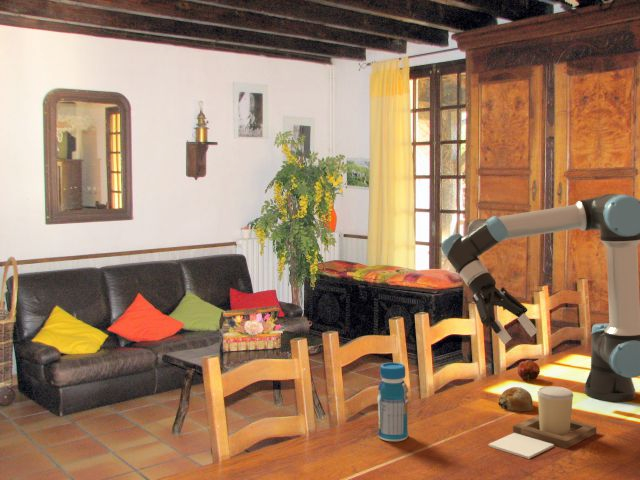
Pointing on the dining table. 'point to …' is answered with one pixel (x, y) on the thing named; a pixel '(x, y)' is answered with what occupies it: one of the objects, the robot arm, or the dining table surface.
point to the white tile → (521, 445)
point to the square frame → (566, 441)
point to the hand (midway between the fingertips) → (521, 337)
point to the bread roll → (516, 399)
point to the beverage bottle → (392, 403)
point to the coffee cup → (555, 409)
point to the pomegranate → (528, 370)
